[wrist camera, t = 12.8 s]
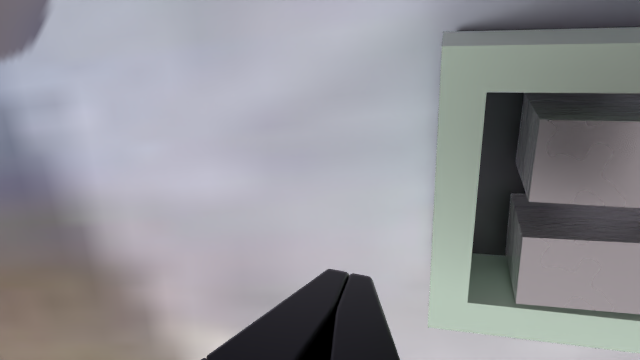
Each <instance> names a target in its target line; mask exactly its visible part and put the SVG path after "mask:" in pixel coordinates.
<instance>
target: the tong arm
mask: <svg viewBox="0 0 640 360" xmlns="http://www.w3.org/2000/svg"><path fill="white" fill-rule="evenodd" d="M506 257H507V262H508V267H509V272H510V277H511V282H512V287H513V292H514V298H515V303H516V304H525V305H537V306H548V307H560V308H571V309H583V310H595V311H606V312H618V313H629V314H640V208H629V207H612V206H594V205H577V204H559V203H542V202H529V201H528V198H527V195H526V194H515V193H511V198H510V209H509V220H508V231H507V242H506Z"/></svg>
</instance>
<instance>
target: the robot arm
mask: <svg viewBox="0 0 640 360" xmlns="http://www.w3.org/2000/svg"><path fill="white" fill-rule="evenodd" d="M201 360H400V358H399V356H398V353H397V350H396V347H395V344H394V341H393V338H392V335H391V332H390V330H389V327H388V324H387V321H386V318H385V315H384V312H383V309H382V307H381V304H380V301H379V298H378V295H377V292H376V289H375V286H374V283H373V281H372V279H371V277H369V276H364V275H359V274H350V275H349V274H348V273H347V272H344V271H339V270H333V269H328V270H326V271H325V272H323V273H322V274H320V275H319V276H318V277H316V278H315V279H313V280H312V281H311V282H309V283H308V284H306V285H305V286H304V287H302V288H301V289H299V290H298V291H297V292H295V293H294V294H292V295H291V296H290V297H288V298H287V299H285V300H284V301H283V302H281V303H280V304H278V305H277V306H276V307H274V308H273V309H271V310H270V311H269V312H267V313H266V314H264V315H263V316H262V317H260V318H259V319H258V320H256V321H255V322H253V323H252V324H251V325H249V326H248V327H246V328H245V329H244V330H242V331H241V332H239V333H238V334H237V335H235V336H234V337H232V338H231V339H230V340H228V341H227V342H225V343H224V344H223V345H221V346H220V347H218V348H217V349H216V350H214V351H213V352H211V353H210V354H209V355H207V359H206V358H203V359H201Z"/></svg>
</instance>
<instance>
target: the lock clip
mask: <svg viewBox="0 0 640 360" xmlns="http://www.w3.org/2000/svg"><path fill="white" fill-rule="evenodd" d="M487 92H510V93H640V27H624V28H582V29H539V30H497V31H455V32H443V39H442V54H441V74H440V94H439V114H438V134H437V153H436V173H435V193H434V213H433V233H432V253H431V272H430V292H429V312H428V328H436V329H444V330H453V331H461V332H469V333H477V334H485V335H493V336H502V337H510V338H518V339H526V340H534V341H542V342H550V343H559V344H567V345H575V346H583V347H591V348H599V349H608V350H616V351H624V352H632V353H640V314H629V313H618V312H606V311H595V310H583V309H571V308H560V307H548V306H537V305H525V304H516V303H515V298H514V292H513V287H512V282H511V277H510V272H509V267H508V262H507V257H506V256H500V255H488V254H476V253H472V247H473V236H474V225H475V214H476V203H477V192H478V181H479V170H480V159H481V148H482V137H483V126H484V115H485V104H486V93H487Z"/></svg>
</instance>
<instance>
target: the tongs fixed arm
mask: <svg viewBox="0 0 640 360" xmlns="http://www.w3.org/2000/svg"><path fill="white" fill-rule="evenodd" d="M515 163H516V166H517V169H518V172H519V175H520V177H521V180H522V183H523V186H524V189H525V192H526V195H527V198H528V201H529V202H542V203H559V204H577V205H594V206H612V207H629V208H640V93H524V97H523V105H522V113H521V121H520V130H519V138H518V146H517V154H516V162H515Z"/></svg>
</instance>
